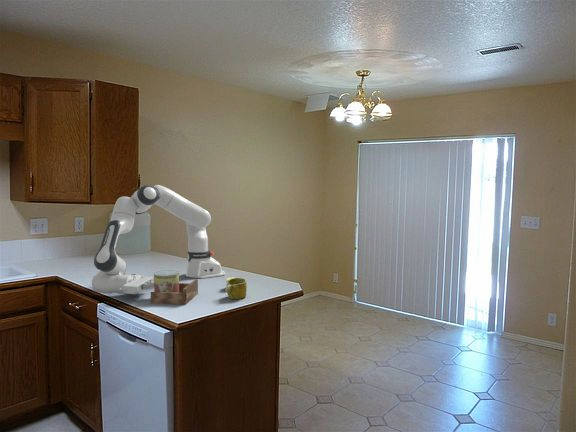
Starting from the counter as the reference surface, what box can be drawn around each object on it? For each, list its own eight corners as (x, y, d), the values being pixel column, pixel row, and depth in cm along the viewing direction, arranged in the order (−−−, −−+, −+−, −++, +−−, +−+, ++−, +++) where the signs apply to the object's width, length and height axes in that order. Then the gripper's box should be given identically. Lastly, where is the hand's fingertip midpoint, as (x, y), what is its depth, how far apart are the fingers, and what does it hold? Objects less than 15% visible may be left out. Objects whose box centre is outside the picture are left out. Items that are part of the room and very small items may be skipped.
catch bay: (150, 303, 194) (150, 288, 193) (165, 292, 212) (165, 278, 211) (186, 304, 192) (185, 289, 192) (197, 293, 211) (197, 279, 210)
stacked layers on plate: (220, 288, 222) (219, 277, 222) (236, 286, 226) (236, 276, 226) (226, 292, 213) (226, 282, 213) (243, 290, 217) (243, 280, 217)
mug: (236, 288, 213) (237, 271, 209) (250, 298, 207) (252, 281, 203) (217, 298, 204) (218, 280, 200) (231, 308, 199) (232, 290, 194)
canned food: (153, 302, 195) (152, 276, 194) (155, 295, 206) (154, 270, 205) (179, 300, 198) (178, 275, 197) (179, 294, 209) (179, 269, 208)
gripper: (116, 283, 193) (146, 284, 192) (135, 273, 213) (163, 273, 212) (116, 297, 193) (146, 297, 192) (136, 285, 214) (163, 286, 213)
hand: (155, 285), depth 202 cm, fingers closed, pressing on canned food
